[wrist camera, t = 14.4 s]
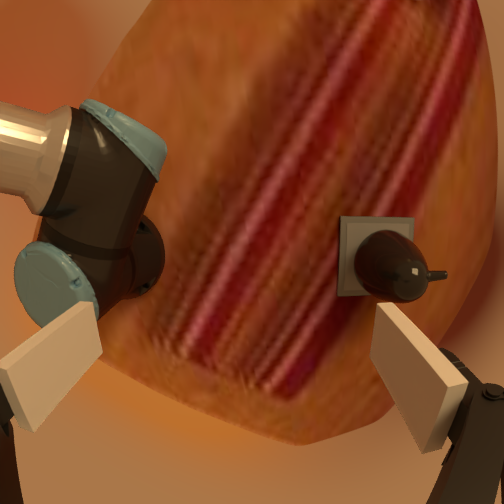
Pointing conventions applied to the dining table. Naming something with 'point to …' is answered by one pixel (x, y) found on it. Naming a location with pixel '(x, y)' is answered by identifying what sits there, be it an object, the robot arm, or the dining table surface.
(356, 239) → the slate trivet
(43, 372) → the robot arm
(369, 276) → the pump dispenser
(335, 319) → the dining table surface
